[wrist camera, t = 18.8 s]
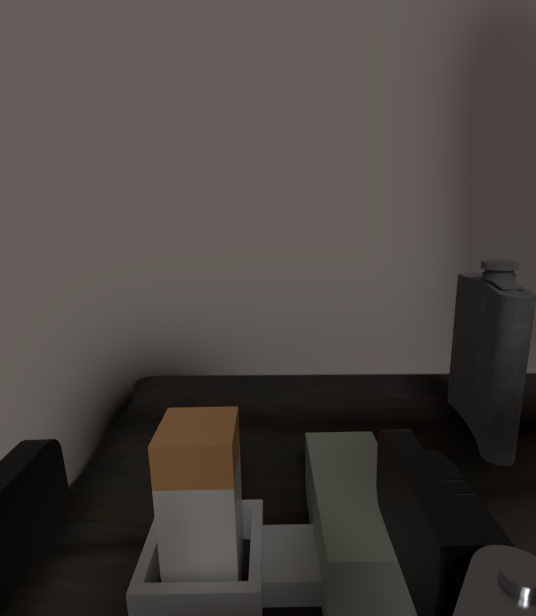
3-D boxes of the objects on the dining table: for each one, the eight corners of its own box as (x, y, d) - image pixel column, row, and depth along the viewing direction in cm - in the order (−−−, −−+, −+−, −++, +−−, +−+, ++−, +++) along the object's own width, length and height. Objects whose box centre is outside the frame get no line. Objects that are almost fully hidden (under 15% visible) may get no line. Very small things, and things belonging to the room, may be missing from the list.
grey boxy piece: (369, 489, 38) (371, 431, 37) (426, 643, 24) (433, 560, 23) (176, 493, 38) (171, 435, 37) (125, 649, 24) (115, 566, 23)
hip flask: (444, 397, 57) (456, 253, 52) (475, 398, 56) (490, 253, 51) (486, 465, 41) (508, 270, 37) (529, 468, 41) (557, 270, 36)
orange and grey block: (243, 547, 32) (237, 406, 29) (239, 608, 27) (231, 445, 24) (179, 548, 32) (168, 407, 29) (163, 609, 27) (148, 446, 24)
